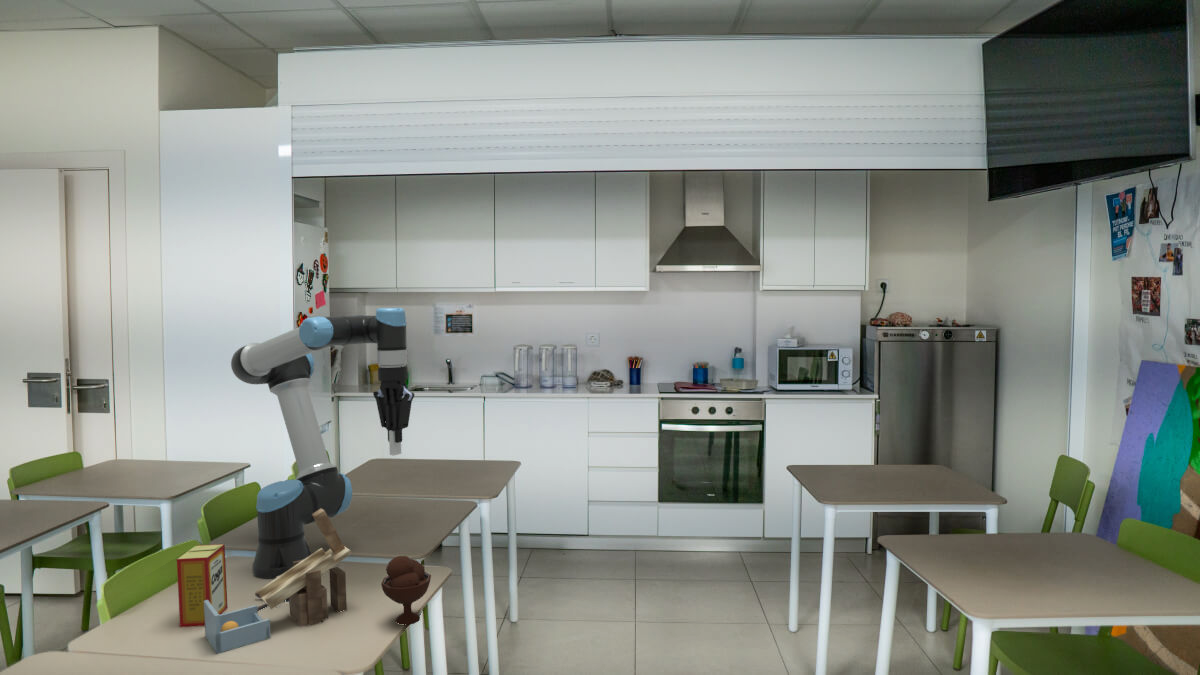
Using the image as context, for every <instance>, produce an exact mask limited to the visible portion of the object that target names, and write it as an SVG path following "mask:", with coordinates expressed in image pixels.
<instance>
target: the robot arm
mask: <svg viewBox="0 0 1200 675" xmlns="http://www.w3.org/2000/svg"><path fill="white" fill-rule="evenodd" d="M405 311H406V310H405V309H404V308H401V307H384V308H383V307H380V308H377V309H376V311H375V315H363V314H359V315H358V314H357V315H348V316H347V315H345V316H344V315H343V316H341V315H340V316H320V315H319V316H315V317H308V318H307V317H306V318H305V319H303V320H302V323H300V326H298V327H297V328H295V329H291V330H289V331H287V332H284V333H281V334H279V335H277V336H275V337H272V338H271V339H270V338H269V339H267V340H266V341H265V340H264V341H263V342H260V343H259V342H251V343H248V344H246V345H243V346H241V347H240V348H238V349H237V350H236V351H235V352H234V354H233V355H232V357H231V360H230V361H231V362H230V366H231V371H232V373H233V374H234V376H235V377H236V378H237V379H239V380H240V381H242V383H246V384H249V385H266V384H267V385H268V389H269V391H270V392H269V393H271V394H273V395H276V397H277V399H278V403H279V407H280V410H281V413H282V417H283V421H284V424H285V427H286V428H285V429H286V431H287V434H288V437H289V438H288V439H289V442H290V445H291V448H292V451H293V455H294V458H295V462H296V466H297V470H298V474H297V476H296V478H295V479H286V480H283V481H282V480H279V481H275V482H273V483H269V484H267V485H265V486H263V488H261V489H260V490H259V492H258V493H257V495H256V506H255V508H256V514H257V516H256V517H257V533H258V534H257V535H258V536H257V538H258V545H257V549H256V553H255V555H254V560H253V563H252V574H254V576H255V577H257V578H260V579H275V577H276V576H279V575H282V574H283V573H285V572H286V571H288V570H289V569H291V568H292V567H293V562H295V561H299V560H303V559H305V558H307V557H308V556H310V555H311V554H312V553H311V552H312V551H311V550H310V548H309V546H308V542H307V541H306V537H305V525H308V524H312V523H316V521H315V519H314V518H313V516H312V514H313V513H314V512H316V511H318V510H319V509H323V510H325V512H326V514H327V516H328V518H329V519H330V518H332V517H335V516H337V515H340V514H343V513H344V512H345V511H346V510H347V509H348V508H349V507H350V504H351V502H352V498H353V487H352V483H351V480H350V478H349V477H348V476H347V475H346V474H344V473H341V472H339V470H338V466H337V465H335V464H333V463H331V462H330V459H329V456H328V453H327V450H326V446H325V443H324V439H323V437H322V432H321V430H320V426H319V422H318V420H317V416H316V413H315V410H314V405H313V402H312V399H311V396H310V393H309V389H308V387H309V385H310V383H311V382H312V380H311V377H312V375H313V374H314V371H315V369H314V367H315V359H314V357H313V354H312V353H314V352H317V351H319V350H323V349H326V348H328V347H334V346H344V345H345V346H346V345H359V344H360V345H361V344H377V346H376V350H377V351H376V352H377V353H376V354H377V365H378V366H379V367H378V368H377V379H378V381H379V382H380V385H379V389H378V390H377V391H376V390H375V391H373V392H372V395H373V397H374V399H375V401H376V406H377V411H378V416H379V420H380V421H379V422H380V426H381V427H382V428H385V429H386V431H387V442H388V444H389V456H398V455H401V454H402V442H403V430H404V429H406V428H408V427H409V423H410V422H409V421H410V415H411V409H412V402H413V399H414V398H415V393H414V392H410V391H409V390H408V386H407V383H406V382H407V380H408V377H409V376H408V375H409V374H408V367H407V366H406V365H407V364H408V355H407V354H408V352H407V351H408V350H407V348H408V347H407V345H408V344H407V324H408V323H407V319H406V312H405Z"/></svg>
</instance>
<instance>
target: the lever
mask: <svg viewBox="0 0 1200 675" xmlns="http://www.w3.org/2000/svg"><path fill="white" fill-rule="evenodd" d="M312 516H313V518H314V519H315V523H316V525H317V527H318V528H319V530H320V532H321V534H322V536H323V537H324V540H325V541H326V543H327V544H328V547H329V549H328V550H327V551H324V548H322V547H321V548H320V547H319V549H317V550H316V551H314V552H313V553H311V555H310V556H308V557H307V558H305V559H304V560H302V561H301V562H299V563H298V564H296V565H295V566H294V567H292V568H291V569H289V570H288V571H286V572H285V573H283V574H282V575H280V576H279V577H277V578H276V579H275V578H273V580H272V581H270V582H268V583H267V584H266V585H264V586H262V587H261V588H260V589H258V590H257V591H256V592H258V593H259V595H260V597H261V598H260V599H262V601H263V602H264V604H267V605H268V608H269V609H270V610H273V609H274V608H277V606H279V605H281V604H282V603H284V602H285V601H284V600H286V599H287V598H289V597H290V596H291V595H293V594H294V593H296V592H297V591H299V590H300V589H302V588H303V587H304V586H306V572H310V571H314V570H318V569H320V570H321V576H322V575H323V574H325V573H326V572H328V571H329V569H331V568H334V566H336V565H338V563H340V562H341V561H343V560H345V559H346V558H347V557H349V556H350V555H351V554H352V551H351V549H349V548H348V547H346V546H345V545H344V544H343V542H342V540H341V538H340V536H339V535H338V532H337V531H336V529H335V527H334V525H333V523H332V521H331V520H330V518H328V516H327V514H326V512H325V510H323V509H319V510H318V511H316V512H314V513H313V514H312Z"/></svg>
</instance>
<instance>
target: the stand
mask: <svg viewBox="0 0 1200 675" xmlns="http://www.w3.org/2000/svg"><path fill="white" fill-rule="evenodd" d="M303 560H304V559H303ZM301 561H302V560H299V561H295V562H293V567H294V566H295V565H296V564H298V563H299V562H301ZM328 571H329V595H330V607H331V606H332V607H333V608H332V607H331V608H332V609H333V610H335V611H336V610H337V611H338V612H339V613H341V612H340V611H342V612H344V611H343V610H346V609H347V610H348V608H347V604H348V602H347V580H346V579H347V578H346V572H345V571H344V570H343V569H341V568H340V567H339V566H336V567H332V568H330V569H329V570H328ZM327 589H328V588H326V587H325V586H324V585H323V584H322V575H321V570H320V569H318V570H314V571H310V572H306V586H304V587H303V588H302V589H300V590H299V591H297V592H296V593H294V594H293V595H291V596H290V597H289V604H288V606H289V616H290V617H291V618H292V619H293V620H294V621H295V622H296V623H297V624H298V625H299V626H300V627H303V626H307V625H308V626H309V627H311V626H314V625H317V623H318V624H320V623H319V622H321V623H323V622H324V620H327V619H326V618H328V616H329V614H328V594H327V593H328V590H327ZM347 610H346V611H347ZM337 611H336V612H337ZM338 612H337V613H338ZM323 619H324V620H323ZM328 619H329V618H328Z"/></svg>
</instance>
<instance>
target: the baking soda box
mask: <svg viewBox="0 0 1200 675" xmlns="http://www.w3.org/2000/svg"><path fill="white" fill-rule="evenodd" d="M225 546H226V545H225V543H223V544H222V543H219V544H218V543H217V544H216V543H215V544H199V545H198V544H197V545H195V546H194V547H193V546H192V548H190V549H189V550H188V551H186V552H185V553H184V554H182V555H180V557H178V558H177V559H176V568H177V569H176V570H177V572H176V573H177V589H178V590H177V593H178V613H179V627H180V628H187V627H205V626H204V625H205V617H204V601H205V600H208V601H209V602H210V603H211V605H212V606H213V607H214V609H215V610H216V611H217V613H218V614H219V615H220V614H224V612H225V611H226V610H227V609H228V590H227V589H228V588H227V587H228V586H227V571H226V570H227V568H226V566H227V565H226V564H227V563H226V548H225Z"/></svg>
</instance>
